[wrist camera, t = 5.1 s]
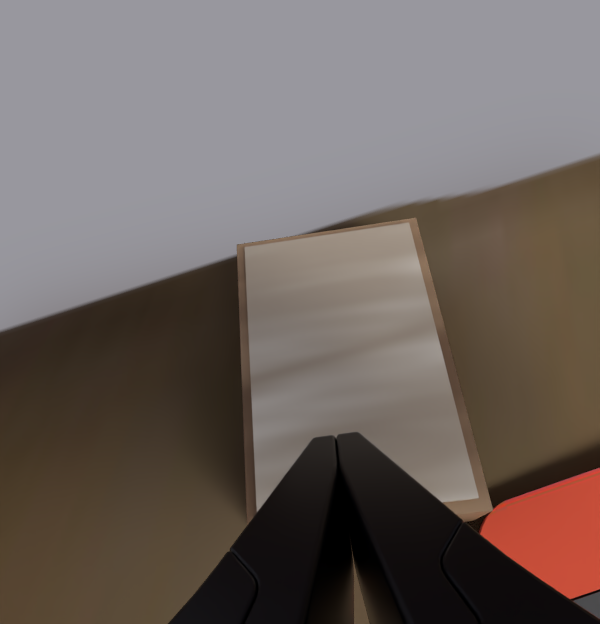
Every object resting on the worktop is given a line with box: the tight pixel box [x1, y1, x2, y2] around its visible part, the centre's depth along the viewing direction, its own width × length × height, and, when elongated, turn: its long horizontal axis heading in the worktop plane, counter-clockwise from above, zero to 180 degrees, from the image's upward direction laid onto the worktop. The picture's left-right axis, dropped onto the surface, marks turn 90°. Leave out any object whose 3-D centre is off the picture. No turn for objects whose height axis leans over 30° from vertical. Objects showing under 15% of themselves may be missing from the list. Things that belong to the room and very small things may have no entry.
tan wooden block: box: [237, 218, 493, 525], centre depth 15 cm, size 3×6×9 cm
